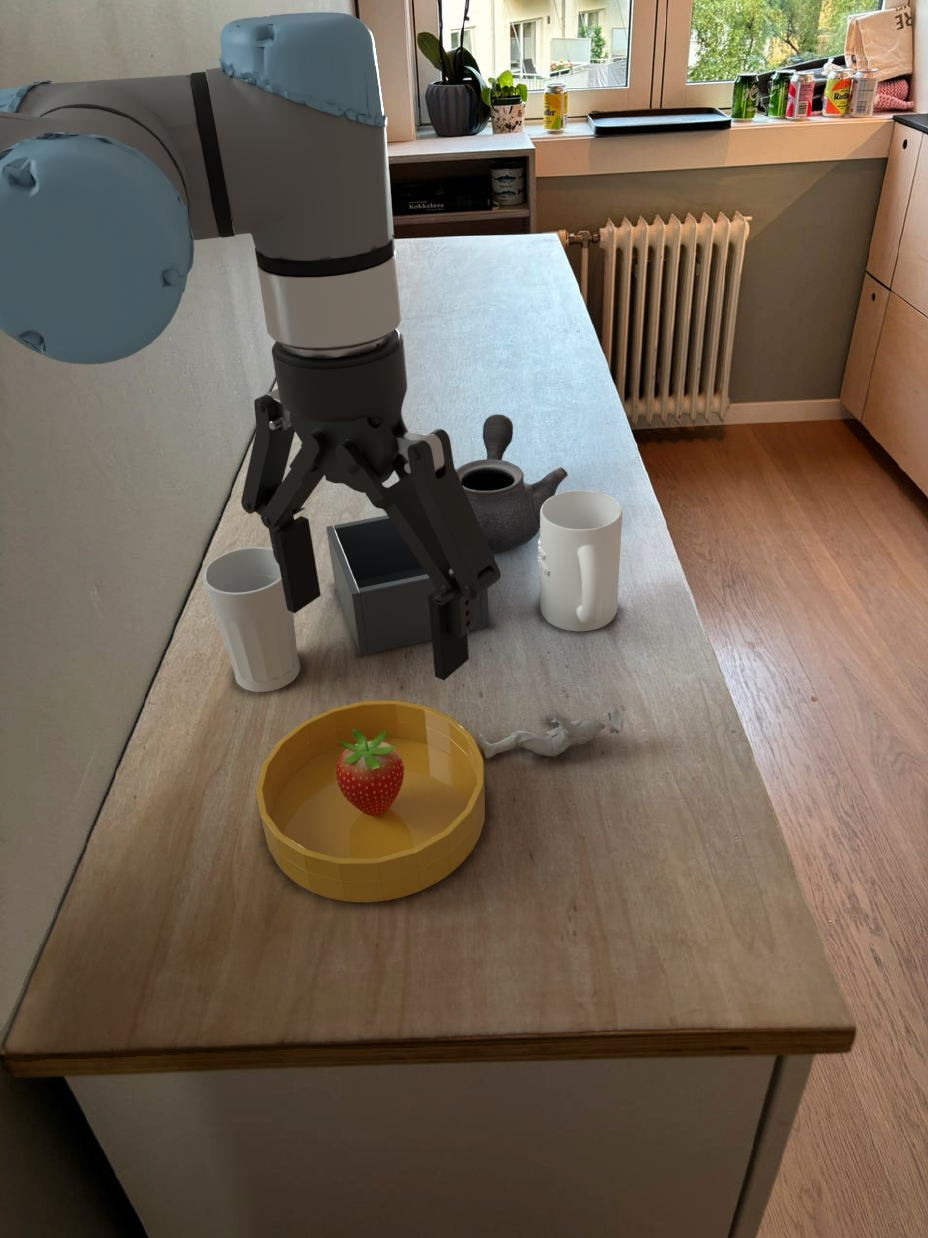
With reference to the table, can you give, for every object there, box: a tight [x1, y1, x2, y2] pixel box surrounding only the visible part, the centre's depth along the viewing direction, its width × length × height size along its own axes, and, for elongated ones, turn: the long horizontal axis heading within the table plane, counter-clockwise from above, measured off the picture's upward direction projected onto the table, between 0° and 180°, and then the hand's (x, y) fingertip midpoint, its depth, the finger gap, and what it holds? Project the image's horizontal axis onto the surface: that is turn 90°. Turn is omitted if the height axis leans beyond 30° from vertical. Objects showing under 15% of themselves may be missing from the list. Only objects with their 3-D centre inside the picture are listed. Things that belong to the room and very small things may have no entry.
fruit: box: [336, 729, 404, 816], centre depth 78 cm, size 5×5×8 cm
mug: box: [537, 489, 623, 632], centre depth 98 cm, size 8×12×12 cm
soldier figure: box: [477, 702, 624, 760], centre depth 85 cm, size 8×5×12 cm
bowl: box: [255, 699, 486, 903], centre depth 80 cm, size 18×18×4 cm
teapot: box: [455, 413, 569, 553], centre depth 116 cm, size 19×15×10 cm
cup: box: [201, 546, 301, 693], centre depth 93 cm, size 8×8×12 cm
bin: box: [325, 514, 490, 656], centre depth 103 cm, size 14×14×8 cm
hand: (374, 634), depth 68 cm, fingers open, 13 cm apart
